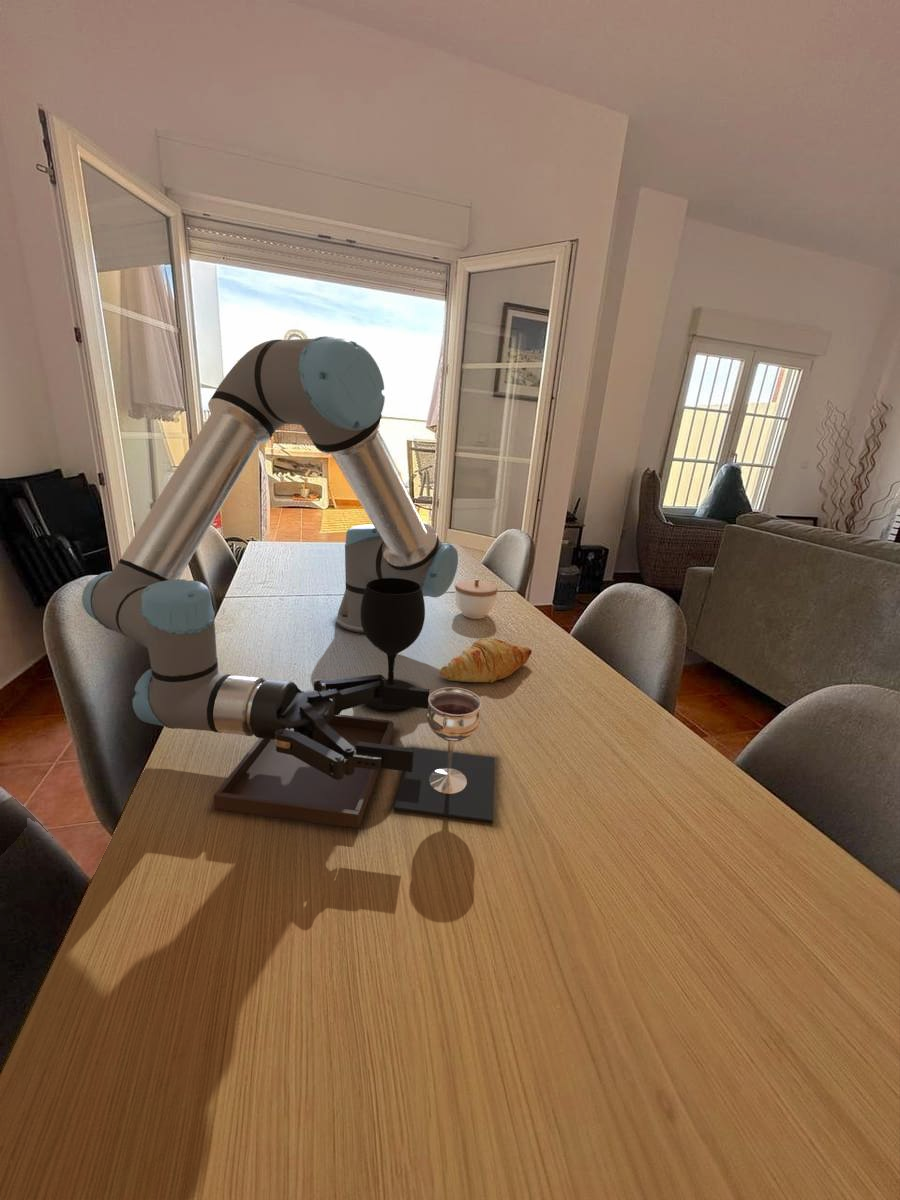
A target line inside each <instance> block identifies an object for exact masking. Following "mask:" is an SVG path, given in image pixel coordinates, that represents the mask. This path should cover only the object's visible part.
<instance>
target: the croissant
mask: <svg viewBox="0 0 900 1200" xmlns="http://www.w3.org/2000/svg"><path fill="white" fill-rule="evenodd" d="M532 651H533V650H532V649H530V648H529V647H527V646H524V647H522V646H521V645H514V644H510V643H509V642H505V641H503V640H501V639H497V638H492V637H490V638H489V637H488V638H480V639H478V640H475V642H473V644H472V645H471V646H470V647H466V648H465V649H464V650H463V651H462V653H461V654H460V655H459V656H457V657H454V658H452V659H451V660H450V662H449V663H448V664H447V665H445V666H442V667H441V668H440V670H439V675H440V677H441V678H443V679H445V680H448V681H455V682H461V683H494V682H496V681H498V680H503V679H505V678H507V677H509V676H511V675H512V674H513V673H514V672H516V671H517V670H518V669H520V668H521V667H522V666H524V665H525V664H527V662H528V660H529V658H530V656H531V655H532Z"/></svg>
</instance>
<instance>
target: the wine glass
mask: <svg viewBox="0 0 900 1200" xmlns="http://www.w3.org/2000/svg"><path fill="white" fill-rule="evenodd" d="M424 597H425V596H423V593H422V589H421V586H420V585H419V584H418V583H416V582H414V581H411V580H407V579H400V578H382V579H376V580H372V581H370V582H368V583H367V585H366V588H365V591H364V594H363V598H362V603H361V611H360V616H361V624H362V628H363V631H364V633H363V634H364V635H365V636H366V638H367V640H368V641H369V642H370V643H371V644H372V645H373V646H374V647H375V648H376V649H378V650H379V651H380V652H383V654H385V655H386V658H387V679H385V684H387V685H396V686H405V687H414V688H417V687H416V686H415V685H414V684H412V683H410V682H408V681H405V680H400V679H394V678H395V663H396V658H397V655H398V654H400V653H401V652H404V651H405V650H406V649H408V648H410V646H412V645H413V644H414V643H415V641H416V640H417V639H418V638H419V636H420V635H421V632H422V630H423V627H424V624H425V619H426V605H425V598H424ZM375 694H376V693H375ZM364 706H366V707H367V708H369V709H371V710H374V711H377V712H382V713H383V712H384V713H398V712H402V711H406V710H408V709H412V707H408V706H399V705H391V704H383V699H382V700H378V701H374V702H371V703H367V704H364Z"/></svg>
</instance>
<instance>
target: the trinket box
mask: <svg viewBox="0 0 900 1200" xmlns="http://www.w3.org/2000/svg"><path fill="white" fill-rule="evenodd" d="M454 589H455V590H454V601H455V604H456V607H457V609H458V611H460V613H461V615H462V616H464V617H466V618H468V619H483V618H485V617H486V616H487V615H488V614H490V613H491V611H492V610H493V608H494V606H495V604H496V600H497V593H498V589H499V588H498V586H497V585H496V584H494V583H492V582H489V581H486V580H481V579H479V578H475V579H462V580H459V581H456V583H455V585H454Z"/></svg>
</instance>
